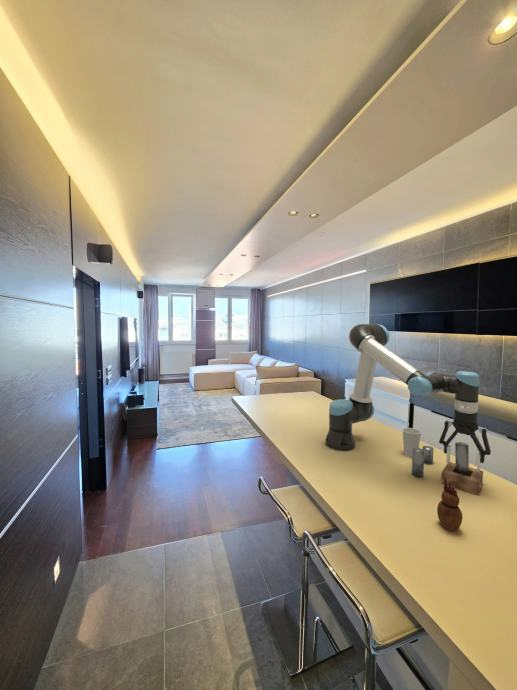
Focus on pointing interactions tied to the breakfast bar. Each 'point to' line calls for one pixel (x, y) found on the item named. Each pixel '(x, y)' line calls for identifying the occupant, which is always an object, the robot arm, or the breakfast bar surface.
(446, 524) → the wooden figurine
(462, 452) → the long pin
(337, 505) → the breakfast bar surface
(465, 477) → the hole block
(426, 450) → the short pin
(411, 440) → the cup
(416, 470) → the medium pin
